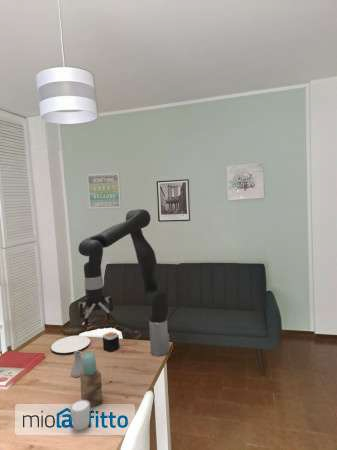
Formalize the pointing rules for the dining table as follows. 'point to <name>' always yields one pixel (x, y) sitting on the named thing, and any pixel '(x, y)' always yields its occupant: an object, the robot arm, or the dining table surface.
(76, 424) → the grey cup
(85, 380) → the tower top
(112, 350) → the sushi
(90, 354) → the cylinder
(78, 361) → the flask
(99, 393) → the tower base
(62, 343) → the plate
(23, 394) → the dining table surface
